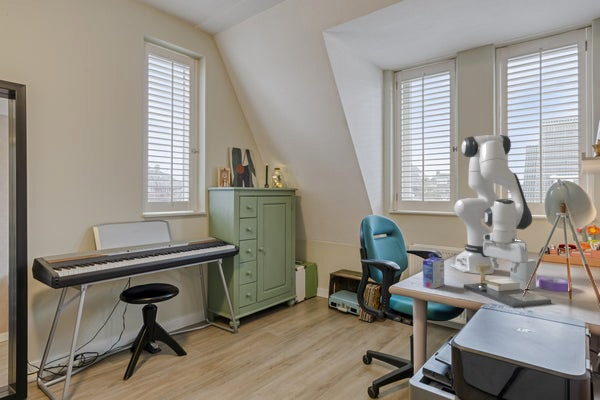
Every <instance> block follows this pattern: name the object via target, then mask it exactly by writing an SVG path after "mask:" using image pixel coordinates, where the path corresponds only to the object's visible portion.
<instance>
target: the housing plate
mask: <svg viewBox="0 0 600 400" xmlns="http://www.w3.org/2000/svg"><path fill="white" fill-rule="evenodd" d="M463 289H465V290H467V291H470V292H473V293H476V294H478V295H481V296H483V297H486V298H488V299H491V300H492V301H496V302H497V303H498V302H499V303H500V304H502V305H505V306H509V307H511V308H521V307H530V306H539V305H540V306H541V305H551V304H552V299H551V298H549V297H546V296H543V295H540V294H537V293H535V292H530V291H527V293H526V295H525V296H524V297H523V293H524V291H525V290H523V289H517V290H505V291H497V290H494V289H491V288H488V287H487V284H486V283H485V286H481V282H478V283H477V282H475V283H467V284H465V283H464V284H463Z"/></svg>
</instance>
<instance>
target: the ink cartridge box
mask: <svg viewBox="0 0 600 400" xmlns="http://www.w3.org/2000/svg"><path fill="white" fill-rule="evenodd" d="M422 276H423V277H422V282H423V285H422V286H423V287H424V288H427V289H433V290H434V289H438V288H439V287H442V286H445V259H444V258H441V257H440V258H439V257H435V254H434V253H432V252H431V253H429V254H428V258H427V259H424V260H422Z"/></svg>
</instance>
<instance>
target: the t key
mask: <svg viewBox="0 0 600 400" xmlns="http://www.w3.org/2000/svg"><path fill="white" fill-rule="evenodd" d="M490 268H491V265H489V264H482V265H476V271H481V274H480V283H481V286H485V283H486V284H490V285H494V286H501V284H500V283H496V282H492V281H487V280H488V279H486V274H485V270H490Z"/></svg>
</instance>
